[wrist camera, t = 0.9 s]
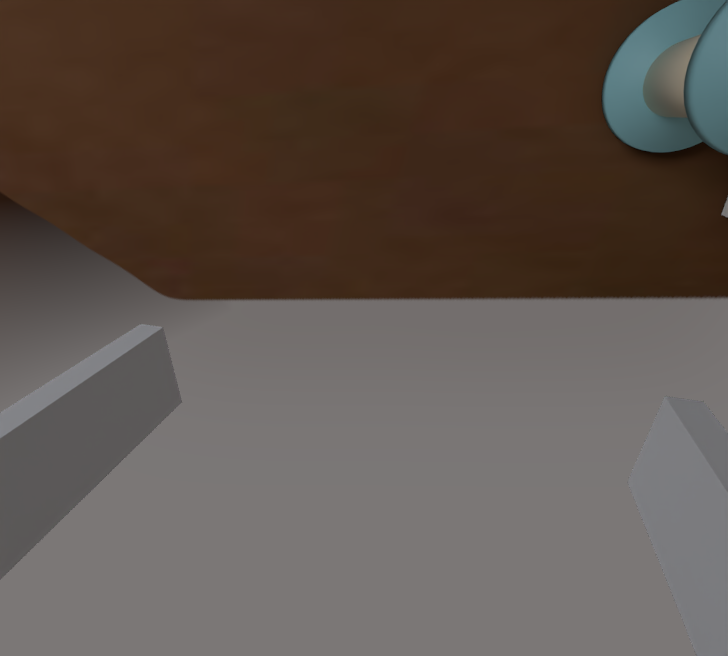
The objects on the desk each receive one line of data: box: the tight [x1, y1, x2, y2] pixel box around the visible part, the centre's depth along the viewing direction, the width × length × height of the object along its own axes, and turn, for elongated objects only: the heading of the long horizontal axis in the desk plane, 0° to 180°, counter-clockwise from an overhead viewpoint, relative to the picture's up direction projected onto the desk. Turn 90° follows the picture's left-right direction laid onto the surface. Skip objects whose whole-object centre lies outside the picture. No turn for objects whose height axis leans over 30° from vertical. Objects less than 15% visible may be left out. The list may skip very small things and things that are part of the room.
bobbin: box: [602, 0, 728, 155], centre depth 20 cm, size 8×8×12 cm
